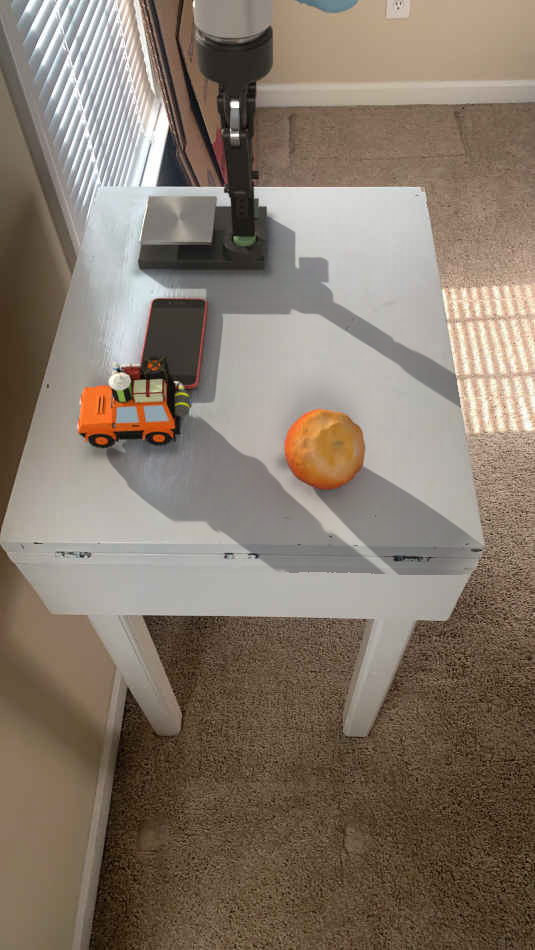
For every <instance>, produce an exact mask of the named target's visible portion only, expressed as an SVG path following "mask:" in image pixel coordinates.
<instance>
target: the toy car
mask: <svg viewBox="0 0 535 950" xmlns="http://www.w3.org/2000/svg"><path fill="white" fill-rule="evenodd" d="M109 374H110V373H109V372H108V373H107V375H109ZM109 377H110V378H109V380H108V381H107V380H105V382H106V384H107V385H104V384H103V385H97V386H88V387H84V388H83V391H82V394H80V399H79V406H80V410H79V411H80V412H79V417H78V418H77V420H78V421H77V425H76V429H77V434H78V435H79V436H81V437H82V438H84V443H87V442H88V443H89V445H91V446H92V447H95V448H97V449H98V448H100V449H108V448H110V447H113V445H115V442H117V443H119V442H120V441H122V440H123V441H125V440H142V441H144V440H146V442H147V443H149V444H150V445H154V446H161V447H162V446H166V445H167V444H170V443H171V442H172V440H173V442H174V443H176V436H177V435H180V434H181V417H187V415H189V413H190V409H192V405H193V404H192V400H193V399H192V397H191V395H190V393H189V392H188V391H187V390H186V389H184V386H183V385H182V383H181V382H177V381H173V379H172V378H171V376H170V374H169V369H168V363H167V362H166V359H165V357H164V356H163V357H161V356H158V355H155V356H150V357H147V358H146V357H144V358H143V361H142V363H141V364H140V363H137V364H136V363H134V364H133V363H130V364H119V363H118V362H117V361H116V362H115V361H114V362H113V364H112V372H111V376H109ZM175 386H177V387H178V388H179V389H175Z"/></svg>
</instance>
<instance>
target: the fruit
mask: <svg viewBox="0 0 535 950" xmlns="http://www.w3.org/2000/svg"><path fill="white" fill-rule="evenodd" d="M363 432H364V431H363V430H362V428H361V427H360V425H358V424H357V423H355V422H354V421H353V420H352V419H351V417H350V416H349V415H348V414H347V413H344V412H341V411H333V410H328V409H323V408H316V409H313V410H309V411H307V412H305V413H304V414H302V415H301V416H300V417H299V418H298V419H297V420H295V421H294V423H293V424H292V425H290V426H289V429H288V431H287V433H286V437H285V439H284V444H283V446H284V447H283V449H284V457H285V462H286V463H287V465H288V468H289V470H290V471H291V473H292V474H293V476H294V477H295V478H296V479H297V480H299V481H300V482H302V483H304V484H306V485H307V486H310V487H312V488H314V489H317V490H323V491H331V490H334V489H338V488H340V487H342V486H344V485H346V484H348V483H349V482H350V481H352V480H353V479H354V478H355V476H356V475H357V474H358V473H359V471H361V469H362V467H363V465H364V461H365V453H366V444H365V440H364V433H363Z"/></svg>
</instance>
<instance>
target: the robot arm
mask: <svg viewBox="0 0 535 950" xmlns="http://www.w3.org/2000/svg"><path fill="white" fill-rule="evenodd" d="M295 1H296V2H297V3H299V4H301V5H302V4H305V5H306V6H308V7H313V8H315V9H317V10H319V11H321V12H324V13H328V14H339V13H343V12H346V11H348V10H350V9H352V8H353V7H355V6H356V5H357V4H358V2H359V0H295ZM192 11H193V21H194V25H195V27H196V28H195V32H194V37H195V38H194V39H195V49H196V59H197V67H198V71H199V72H200V73H201V75H202V76H203V77H205V78H206V79H207V80H209V81H210V82H213V83H216V84H217V85H218V93H216V107H217V112H218V114H219V115H220V129H221V133H220V134H221V135H220V136H221V140H222V143H223V144H222V145H223V148H224V158H225V168H226V178H227V183H224V184H223V194H227V195H228V198H230V206H231V214H232V228H233V236H255V208H254V198H255V185H254V183H255V182H254V181H252V180H259V179H260V171H259V170H253V165H254V162H255V157H254V153H253V152H254V151H253V147H254V145H253V138H254V135H255V120H256V108H257V95H258V94H257V91H258V90H257V89H258V85H257V84H258V83H257V82H259V81H260V80H262V79H264V78H265V77H266V76H267V75H268V74H270V72H271V70H272V68H273V64H274V29H273V27H272V23H273V21H274V0H193V2H192Z"/></svg>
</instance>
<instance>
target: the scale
mask: <svg viewBox="0 0 535 950" xmlns="http://www.w3.org/2000/svg"><path fill="white" fill-rule="evenodd" d="M267 225H268V207H267V206H265V205H264V206H262V205H261V206H260V205H259V206H258V220H255V233H256V243H255V244H253V245H251V246H248V247H246V246H238V245H236V244H234V236H233V228H232V214H231V205H229V206H228V205H227V206H226V205H221V206H220V205H219V206H218V205H216V213H215V223H214V232H213V242H212V245H140V246H139V247H140V248H139V252H138V257H137V263H138V264H137V265H138V268H139V270H200V271H201V270H207V271H208V270H209V271H210V270H214V271H215V270H218V271H219V270H225V271H226V270H227V271H230V270H233V271H236V270H237V271H245V270H246V271H249V270H250V271H252V270H253V271H265V269H266V254H268V252H269V235H268V232H267V227H268V226H267Z"/></svg>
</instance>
